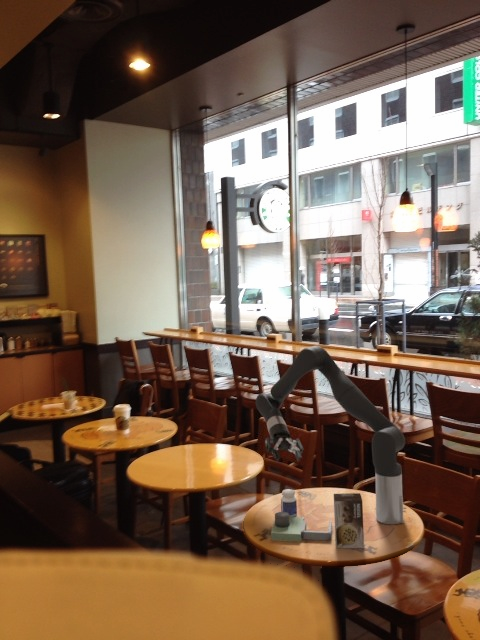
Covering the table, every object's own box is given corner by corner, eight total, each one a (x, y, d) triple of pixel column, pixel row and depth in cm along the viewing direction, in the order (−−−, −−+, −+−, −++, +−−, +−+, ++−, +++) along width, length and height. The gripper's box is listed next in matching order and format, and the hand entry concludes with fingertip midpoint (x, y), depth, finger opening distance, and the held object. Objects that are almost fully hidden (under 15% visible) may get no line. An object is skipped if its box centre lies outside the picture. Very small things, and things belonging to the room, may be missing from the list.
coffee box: (362, 539, 195) (361, 492, 193) (364, 548, 188) (363, 500, 187) (334, 539, 195) (333, 492, 194) (335, 548, 189) (334, 500, 188)
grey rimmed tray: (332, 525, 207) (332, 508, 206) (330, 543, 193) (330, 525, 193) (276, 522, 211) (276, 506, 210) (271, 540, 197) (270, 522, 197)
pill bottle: (300, 518, 214) (299, 491, 213) (288, 522, 211) (287, 495, 210) (290, 513, 219) (289, 487, 218) (278, 517, 216) (277, 490, 215)
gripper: (263, 421, 227) (274, 451, 214) (297, 423, 231) (309, 453, 218) (258, 436, 231) (268, 466, 217) (291, 437, 235) (303, 467, 222)
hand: (288, 459), depth 218 cm, fingers open, 8 cm apart
